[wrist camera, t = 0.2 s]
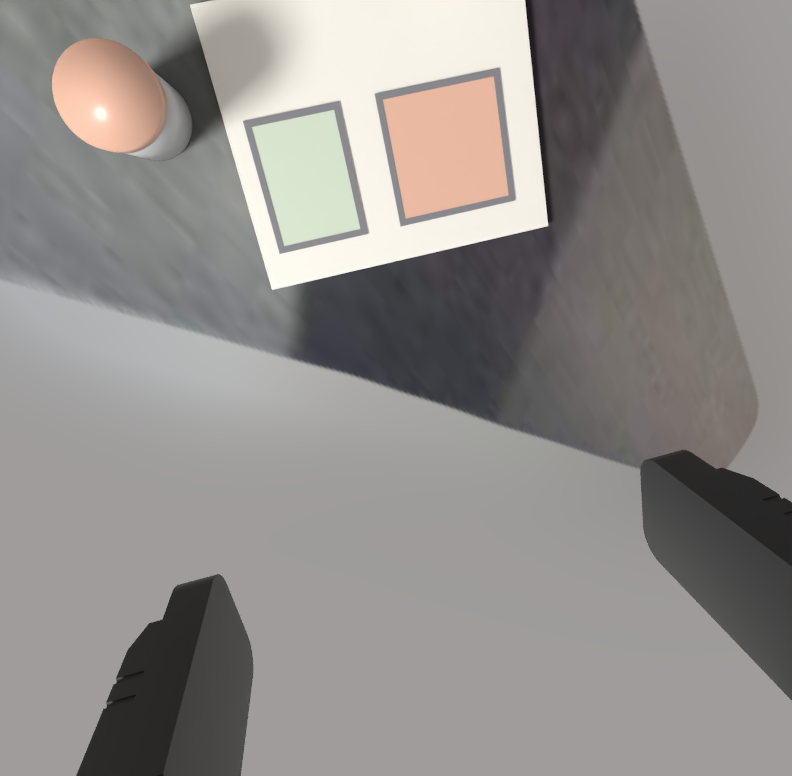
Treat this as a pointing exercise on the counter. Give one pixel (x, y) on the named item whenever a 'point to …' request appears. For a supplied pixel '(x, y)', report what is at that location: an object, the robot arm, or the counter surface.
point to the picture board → (376, 126)
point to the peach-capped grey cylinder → (119, 101)
